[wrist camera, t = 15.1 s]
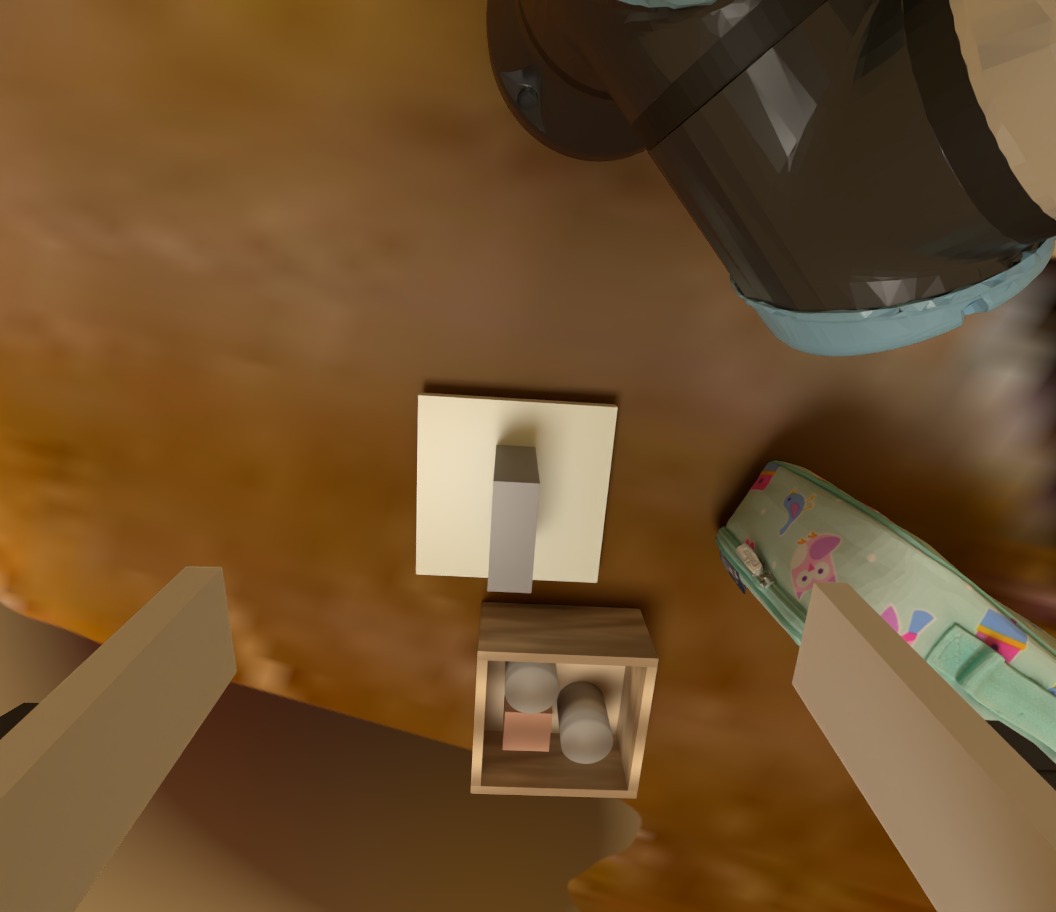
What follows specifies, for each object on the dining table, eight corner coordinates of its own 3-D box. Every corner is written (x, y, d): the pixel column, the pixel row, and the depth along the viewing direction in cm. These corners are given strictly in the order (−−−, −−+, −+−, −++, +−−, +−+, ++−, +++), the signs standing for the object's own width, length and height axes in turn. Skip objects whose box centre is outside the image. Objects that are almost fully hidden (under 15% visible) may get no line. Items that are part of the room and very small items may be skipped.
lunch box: (674, 522, 50) (785, 698, 30) (754, 425, 48) (935, 545, 28) (895, 669, 56) (1117, 903, 35) (978, 588, 53) (1268, 790, 33)
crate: (481, 601, 52) (477, 651, 46) (640, 608, 53) (658, 658, 46) (475, 730, 56) (470, 793, 50) (621, 735, 57) (636, 798, 50)
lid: (422, 389, 46) (398, 422, 37) (613, 401, 47) (639, 436, 37) (419, 562, 51) (398, 631, 41) (593, 570, 52) (612, 640, 42)
